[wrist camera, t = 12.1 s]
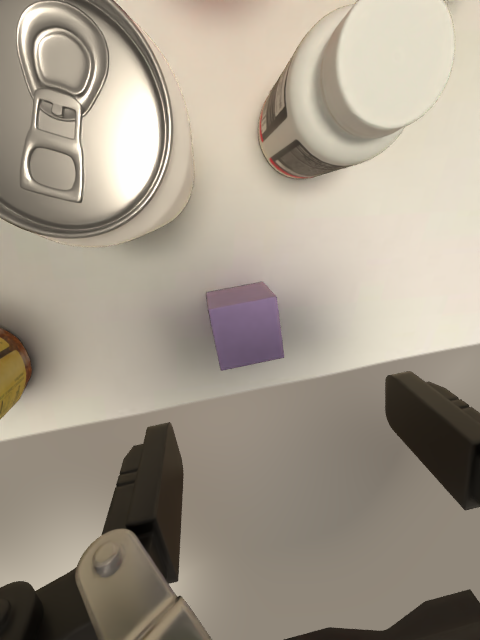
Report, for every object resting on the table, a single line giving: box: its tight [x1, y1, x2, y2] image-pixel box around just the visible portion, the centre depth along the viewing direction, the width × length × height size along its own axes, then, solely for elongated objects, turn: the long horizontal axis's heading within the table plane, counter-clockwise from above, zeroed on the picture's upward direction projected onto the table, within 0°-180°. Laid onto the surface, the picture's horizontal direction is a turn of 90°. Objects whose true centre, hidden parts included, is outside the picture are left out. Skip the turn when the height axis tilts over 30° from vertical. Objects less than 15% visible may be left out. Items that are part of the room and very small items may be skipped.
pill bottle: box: [258, 0, 455, 179], centre depth 14 cm, size 5×5×10 cm
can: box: [0, 0, 194, 247], centre depth 13 cm, size 6×6×12 cm
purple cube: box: [206, 282, 284, 370], centre depth 20 cm, size 4×4×4 cm
